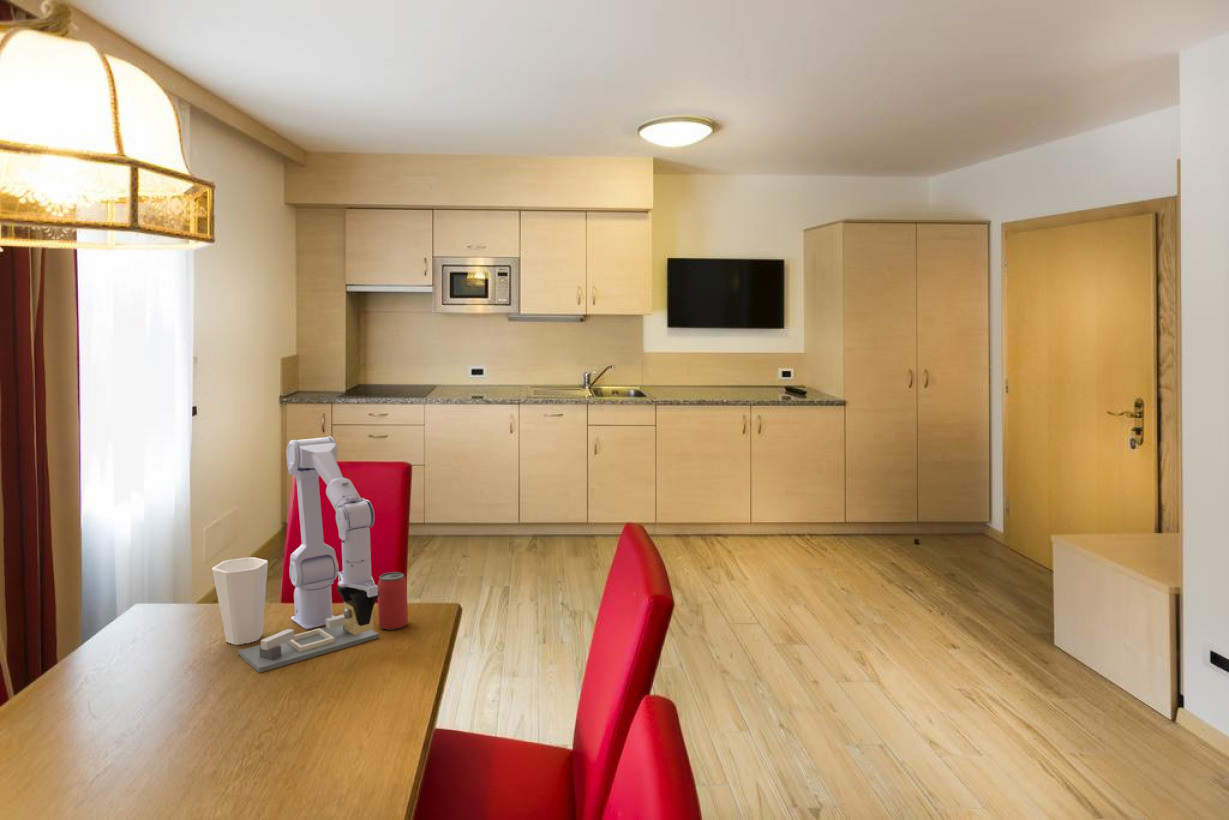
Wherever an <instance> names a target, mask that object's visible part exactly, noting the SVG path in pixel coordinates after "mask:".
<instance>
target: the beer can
mask: <svg viewBox="0 0 1229 820" xmlns="http://www.w3.org/2000/svg"><path fill="white" fill-rule="evenodd" d="M377 586H378V591H379V596H378V598H377V608H378V609H377V612H378V626H379V627H380V628H381V629H383V630H385V629H386V631H394V630H395V629H396V630H399V629H402V628H404V626H405V627H406V626H407V625H408V624H409V615H408V614H409V611H408V609H409V607H408V583H407V580H406V577H405V574H404V573H402V572H399V571H392V572H385V573H383V574H381V575H380V576H379V579H378V583H377Z"/></svg>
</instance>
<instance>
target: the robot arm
mask: <svg viewBox="0 0 1229 820" xmlns="http://www.w3.org/2000/svg"><path fill="white" fill-rule="evenodd" d="M338 451H339V449H338V444H337V441H336V440H335V439H334V438H333V436H326V437H325V436H324V437H314V438H306V439H305V438H304V439H291V440H290V441H289V442H288V445H287V447H286V451H285V454H286V464H287V465H286V466H287V469H288V474H289V475H291V476H295V482H296V489H297V503H298V504H297V505H298V513H299V515H298V516H299V525H300V536H301V537H300V539H301V540H300V541H301V544H300V545H299V547H297V548H296V549H295V550H294V551H293V552H292V553H291V554H290V557H289V566H288V567H289V572H288V573H289V579H290V582H291V584H292V585H293V587H295V588H294V592H293V601H294V603H293V604H294V616H291V617H290V620H292V621H293V622H295V623H296V624H297V625H299V626H300V627H302V628H303V629H305V630H311V629H316V628H320V627H322V626H326V619H327V618H331V617H335V615H334V614H333V597H332V585H333V584H335V583H334V581H335V580H336V579H337V577H338V582H337V587H336V591H337V592H338V594H339V596H340V597H341V600H342V602H343V603H344V601H348V600H353V602H354V605H355V608H356V613H357V619H358V623H359V625H360V626H363V625H366V624H369V623H370V619H371V615H372V610H373V611H374V606H375V604H376V601H378V596H379V591H378V585H377V584H376V583H375V581H374V578H373V576H372V558H371V557H372V556H371V555H372V553H371V552H372V551H371V529H370V528H373V526H374V525H375V524H374V523H375V510H374V507H373V505H372V502H371V501H370V500H369V499H365V497H361V496H360V494H359V492H358V491H357V489H356V488H355V486H354V484H353V482H352V480H350V479H349V478H347V477H343V474H342V472H341V469H340V466H339V465H338V463H337V461H338V455H339V453H338ZM319 477H320V478H321V479H322V481H323V482H324V483H325V485H326V488H325V494H326V496H327V499H328V500H329V501H330V504H331V505H332V507H333V509H334V511H335V522H336V526H337V530H338V537H339V539H340V540H341V558H342V561H341V562H342V564H341V565H342V571H339V570H340V569H339V568H340V567H339V563H338V559H337V555H336V551H335V548H333V547H332V546H330V545H329V544H326V543H325V542H324V540H325V539H324V530H323V518H322V517H323V516H322V506H321V505H322V504H321V495H320V482H319Z"/></svg>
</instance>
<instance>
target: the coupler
mask: <svg viewBox="0 0 1229 820" xmlns="http://www.w3.org/2000/svg"><path fill="white" fill-rule="evenodd" d="M343 614H344V624H345V629H346V630H347V631H349V632H350V633H352V634H353V635H355V634H359V633H362V632H366V631H369V630H373V631H374V629H375V628H374V627H375V625H374V609H373V610H372V615H371V619H370V623H369V624H366V625H363V626H360V625H359V623H358V619H357V613H356V608H355V605H354V602H353V600H348V601H344V602H343Z"/></svg>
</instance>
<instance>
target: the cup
mask: <svg viewBox="0 0 1229 820" xmlns="http://www.w3.org/2000/svg"><path fill="white" fill-rule="evenodd" d="M268 566H269V561H268V560H267V559H262V558H258V557H254V556H253V557H249V556H248V557H241V558H234V559H226V560H223V561H222V562H220V563H219V564H216V565H215V566H213V567H212V568H211V569H212V570H211V571H212V576H213V581H214V586H215V591H216V595H217V601H218V605H219V612H220V615H221V620H222V622H221V623H222V626H223V630H224V631H223V632H224V637H225V642H226V643H227V642H228V643H229V644H230V643H231V645H233V644H234V645H233V646H239V645H246V644H249V643H251V642H252V643H254V641H255V642H257V641H258V640H260V638H261V636H262V637H263V632H264V631H263V629H264V621H265V619H264V616H265V605H266V593H267V592H266V591H267V577H268ZM245 643H246V644H245ZM252 643H251V644H252Z"/></svg>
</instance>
